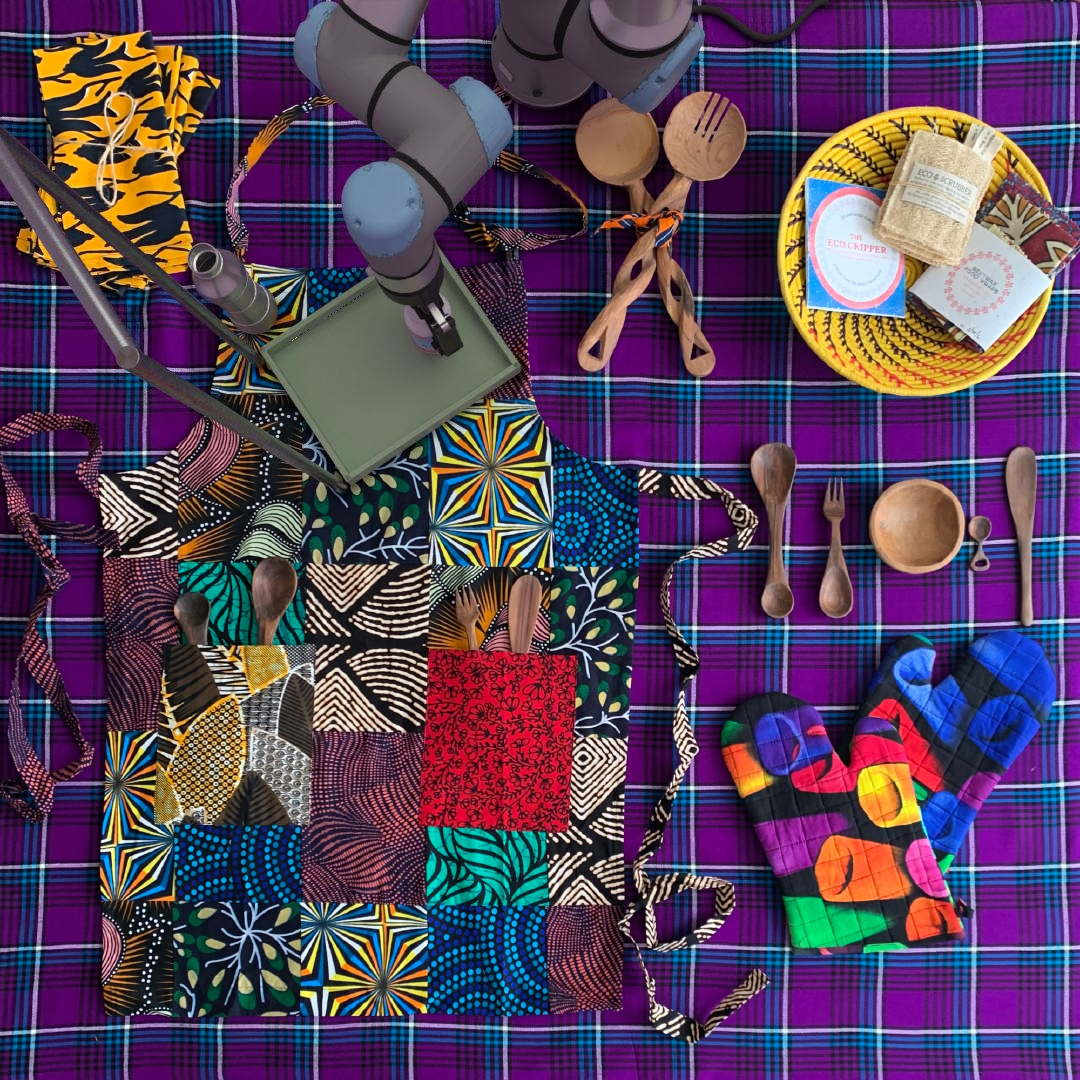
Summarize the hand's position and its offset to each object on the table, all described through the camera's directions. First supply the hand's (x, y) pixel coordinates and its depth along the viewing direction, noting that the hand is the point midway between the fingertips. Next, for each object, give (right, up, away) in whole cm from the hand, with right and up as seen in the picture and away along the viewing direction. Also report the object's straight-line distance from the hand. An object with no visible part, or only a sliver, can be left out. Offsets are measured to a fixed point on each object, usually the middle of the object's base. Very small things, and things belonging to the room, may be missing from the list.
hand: (434, 327), depth 121 cm
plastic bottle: (-24, +2, +3) cm, 25 cm away
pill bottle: (0, 0, +2) cm, 2 cm away
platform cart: (-7, -5, +2) cm, 9 cm away
